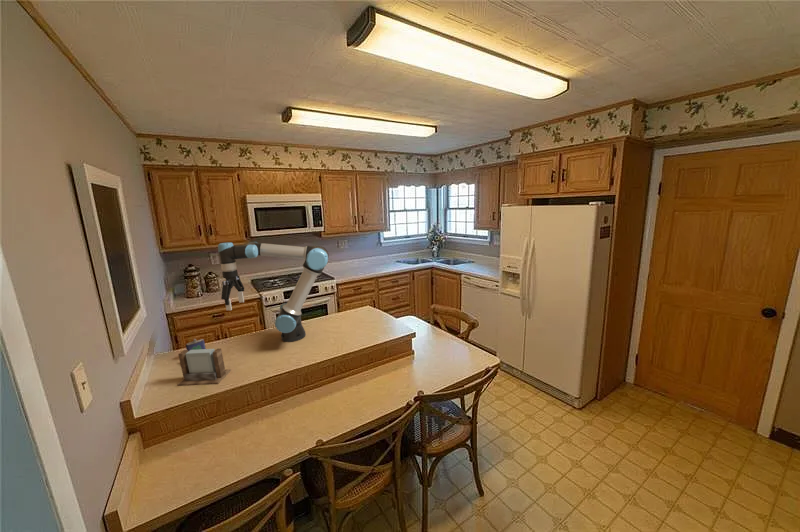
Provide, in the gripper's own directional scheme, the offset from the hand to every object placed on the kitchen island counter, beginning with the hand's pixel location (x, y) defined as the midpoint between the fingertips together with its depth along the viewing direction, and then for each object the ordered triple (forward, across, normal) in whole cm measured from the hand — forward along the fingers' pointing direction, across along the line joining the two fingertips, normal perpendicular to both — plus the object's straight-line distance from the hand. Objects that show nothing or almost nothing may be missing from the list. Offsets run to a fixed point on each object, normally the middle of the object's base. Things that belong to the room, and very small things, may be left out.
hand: (235, 306), depth 177 cm
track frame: (+29, +27, -6) cm, 40 cm away
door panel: (+28, +27, -6) cm, 39 cm away
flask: (+29, +2, -26) cm, 39 cm away
